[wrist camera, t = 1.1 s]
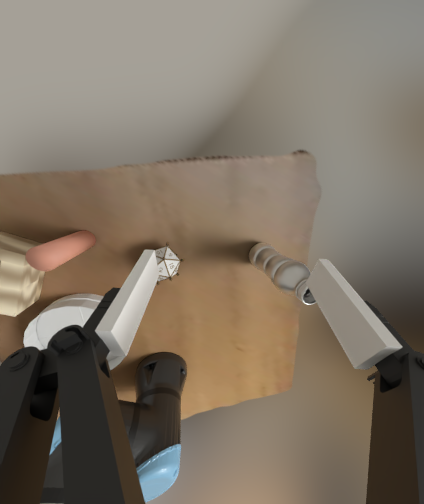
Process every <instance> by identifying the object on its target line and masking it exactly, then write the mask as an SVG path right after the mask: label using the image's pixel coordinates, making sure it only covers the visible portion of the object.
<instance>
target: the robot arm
mask: <svg viewBox="0 0 424 504" xmlns="http://www.w3.org/2000/svg"><path fill="white" fill-rule="evenodd" d="M158 277H159V270H158V265H157V260H156V255H155V250H144V252H143V253H142V255H141V257H140V258H139V260H138V261H137V263H136V265H135V266H134V268H133V270H132V271H131V273H130V274H129V276H128V278H127V279H126V281H125V283H124V284H123V286H122V287H121V288H112V289H111V290H110V291H109V292H107V293H106V294H105V296H104V297H103V299H102V300H101V302H100V303H99V304H98V306H97V308H96V309H95V310H94V312H93V313H92V314H91V316H90V317H89V319H88V320H87V322H86V323H85V325H84V326H83V328H82V327H81V326H79V325H70V326H67V327H64V328H63V329H61V330H59V331H58V332H57V333H56V334H54V335H53V336H52V338H51V339H50V341H49V342H48V346H47V349H43V350H39V349H38V348H37V347H33V346H29V347H24V348H22V349H20V350H18V351H16V352H14V353H13V354H12V355H10V356H9V357H8V358H7V359H6V360H5V361H4V362H3V363H2V364H1V366H0V504H145V502H148V501H150V500H152V499H154V498H156V497H158V496H159V495H161V494H162V493H164V492H165V491H166V490H168V489H169V488H170V487H171V486H172V485H173V483H174V482H175V480H176V478H177V476H178V473H179V464H180V450H181V445H180V437H181V436H180V435H181V430H180V429H181V424H180V423H181V394H182V391H183V387H184V384H185V380H186V377H187V366H186V363H185V361H184V360H183V359H182V358H181V357H180V356H178V355H176V354H173V353H157V354H153V355H151V356H149V357H147V358H145V359H144V360H143V361H142V362H141V363H140V364H139V366H138V368H137V372H136V375H135V388H136V403H134V402H128V401H123V400H118V398H117V394H116V391H115V387H114V383H113V379H112V375H111V372H110V368H109V364H108V360H107V359H106V358H107V356H108V354H109V352H111V354H112V355H113V356H127V353H128V351H129V349H130V346H131V344H132V341H133V339H134V336H135V334H136V331H137V329H138V326H139V324H140V321H141V319H142V317H143V314H144V312H145V309H146V307H147V304H148V302H149V299H150V297H151V294H152V292H153V290H154V287H155V285H156V282H157V280H158ZM306 285H307V286H308V288H309V290H310V292H311V293H312V295H313V297H314V299H315V300H316V302H317V304H318V305H319V307H320V309H321V311H322V313H323V314H324V316H325V318H326V320H327V321H328V323H329V325H330V326H331V328H332V330H333V332H334V334H335V335H336V337H337V339H338V341H339V342H340V344H341V346H342V348H343V349H344V351H345V353H346V354H347V356H348V358H349V360H350V361H351V363H352V365H353V366H354V368H355V369H369V368H371V367H372V366H374V365H375V366H376V367H377V369H378V371H377V372H375V373H373V374H372V375H370V376H368V378H367V380H369V381H370V380H372V379H374V378H375V382H373V384H375V385H374V400H373V413H372V427H371V442H370V455H369V471H368V484H367V498H366V504H424V354H422V353H420V352H416V351H414V350H413V349H412V348H411V347H410V346H409V345H408V344H407V343H406V342H405V340H404V339H403V338H402V337H401V336H400V335H399V334H398V332H397V331H396V330H395V329H394V328H393V327H392V326H391V325H390V324H389V323H388V321H387V320H386V319H385V318H384V317H383V315H382V314H381V313H380V312H379V311H378V310H377V309H376V308H375V307H374V306H372V305H371V304H370V303H369V302H367V301H363V300H362V299H361V297H359V295H358V294H357V293H356V292H355V290H354V289H353V288H352V287H351V286H350V284H348V282H347V281H346V280H345V279H344V278H343V276H342V275H341V274H340V273H339V272H338V270H337V269H336V268H335V267H334V266H333V265H332V263H331V262H330V261H329V260H328V259H318V261H317V263H316V265H315V267H314V268H313V270H312V272H311V274H310V276H309V278H308V279H307V281H306ZM59 408H60V417H59V418H58V420H57V416H58V411H59Z"/></svg>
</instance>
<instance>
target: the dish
mask: <svg viewBox="0 0 424 504" xmlns="http://www.w3.org/2000/svg"><path fill="white" fill-rule="evenodd" d="M103 297H104V296H99V295H95V294H74V295H69V296H65V297H63V298H60V299H58V300H56V301H54V302H53V303H52V304H50V305H49V306H48V307H46V308H45V309H44V310H43V311H42V312H41V313H39V315H38V316H37V317H36V318H35V319H34V320H33V321H31V322H30V323H29V325H28V327H27V329H26V330H25V332H24V341H23V343H24V346H25V347H29V346H33V347H37V348H38V349H39V350H43V349H47V346H48V342H49V341H50V339H51V338H52V336H53V335H54V334H56V333H57V332H58V331H59V330H61V329H63V328H64V327H67V326H70V325H79V326H81V327H82V328H83V326H84V325H85V323H86V322H87V320H88V319H89V317H90V316H91V314H92V313H93V312H94V310H95V309H96V308H97V306H98V304H99V303H100V302H101V300H102V299H103ZM124 357H125V356H113V355H112V354H111V352H109V354H108V356H107V358H106V359H107V360H108V364H109V368H110V370H112V369H113V368H115V367H116V366H117V365H119V364H120V363H121V361H122V360H123V359H124Z"/></svg>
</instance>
